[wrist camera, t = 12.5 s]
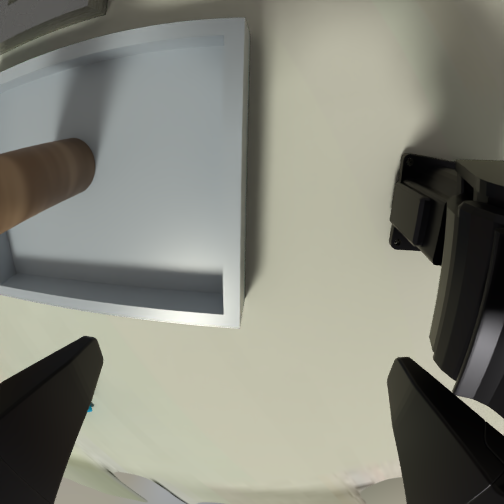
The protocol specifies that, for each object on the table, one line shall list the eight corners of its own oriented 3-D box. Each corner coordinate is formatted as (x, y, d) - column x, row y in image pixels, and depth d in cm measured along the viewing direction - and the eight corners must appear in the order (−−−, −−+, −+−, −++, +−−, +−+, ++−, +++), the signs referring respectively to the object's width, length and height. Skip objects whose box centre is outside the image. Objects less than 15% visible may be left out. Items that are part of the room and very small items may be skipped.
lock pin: (82, 127, 17) (-106, 175, 4) (103, 180, 19) (-73, 277, 6) (45, 154, 18) (-118, 218, 5) (64, 202, 20) (-88, 298, 7)
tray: (250, 34, 15) (244, 17, 12) (244, 299, 23) (239, 328, 20) (-6, 87, 17) (-33, 89, 13) (19, 276, 24) (-3, 294, 21)
